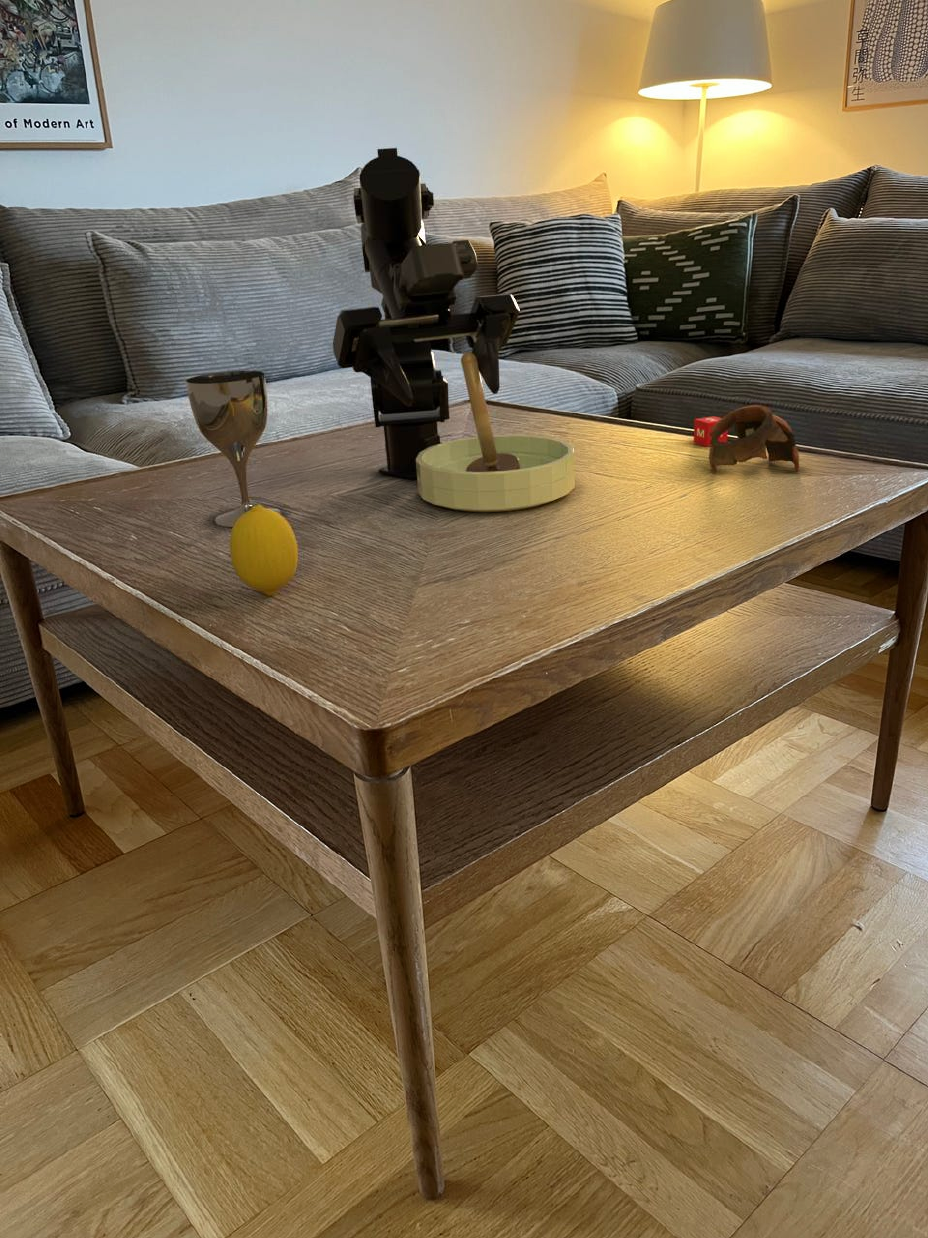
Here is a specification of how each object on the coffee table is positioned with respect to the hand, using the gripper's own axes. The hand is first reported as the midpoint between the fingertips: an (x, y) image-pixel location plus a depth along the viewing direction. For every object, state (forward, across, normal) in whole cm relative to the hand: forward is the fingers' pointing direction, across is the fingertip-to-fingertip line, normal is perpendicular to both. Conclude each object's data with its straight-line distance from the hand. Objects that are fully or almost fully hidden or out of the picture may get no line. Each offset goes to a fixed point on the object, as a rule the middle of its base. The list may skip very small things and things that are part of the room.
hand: (454, 397), depth 89 cm
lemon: (+16, -22, +2) cm, 28 cm away
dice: (+1, +40, +16) cm, 43 cm away
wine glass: (-2, -19, +19) cm, 27 cm away
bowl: (+4, +7, +14) cm, 16 cm away
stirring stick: (+3, +7, +12) cm, 14 cm away
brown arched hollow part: (+10, +36, +7) cm, 38 cm away
